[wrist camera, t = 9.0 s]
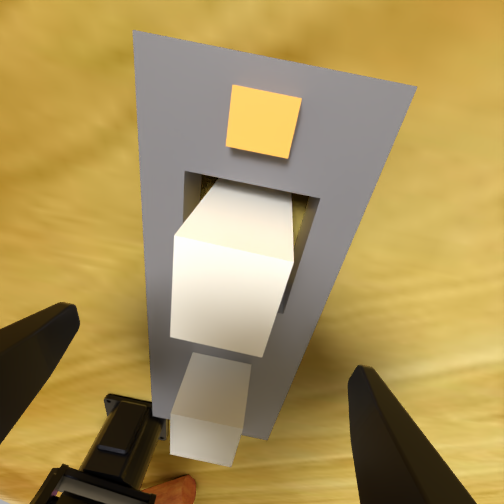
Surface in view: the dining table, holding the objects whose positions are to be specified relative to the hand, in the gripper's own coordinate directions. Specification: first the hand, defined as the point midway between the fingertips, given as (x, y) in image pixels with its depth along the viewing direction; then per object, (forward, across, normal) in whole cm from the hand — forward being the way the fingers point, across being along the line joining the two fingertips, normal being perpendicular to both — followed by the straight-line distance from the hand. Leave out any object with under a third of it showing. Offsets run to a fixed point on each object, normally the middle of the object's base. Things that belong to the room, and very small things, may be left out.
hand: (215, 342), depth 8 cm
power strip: (+9, 0, +5) cm, 10 cm away
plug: (+9, 0, 0) cm, 9 cm away
